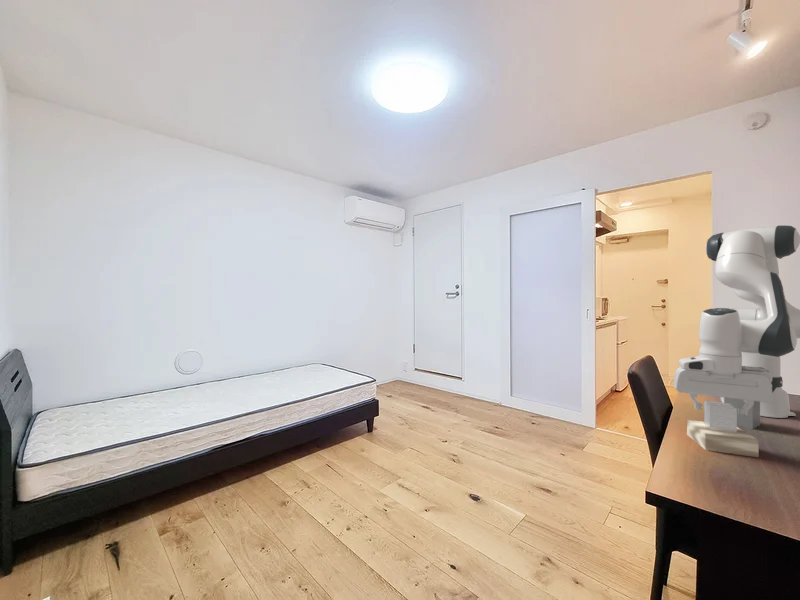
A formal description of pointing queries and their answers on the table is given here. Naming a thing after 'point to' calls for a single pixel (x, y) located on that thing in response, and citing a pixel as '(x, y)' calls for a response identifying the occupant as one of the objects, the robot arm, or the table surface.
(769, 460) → the table surface
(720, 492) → the table surface
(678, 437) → the table surface
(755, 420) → the perfume bottle
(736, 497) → the table surface
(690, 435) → the cream square dish
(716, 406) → the grey block
